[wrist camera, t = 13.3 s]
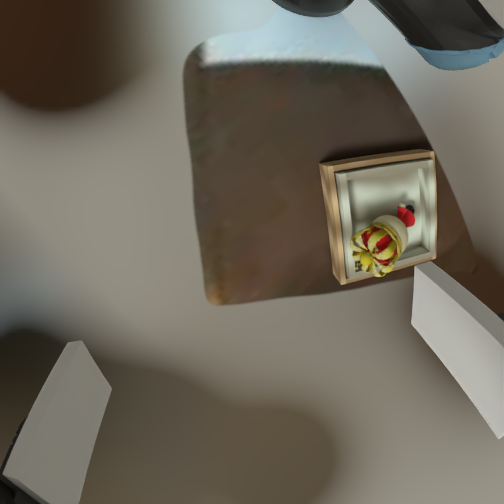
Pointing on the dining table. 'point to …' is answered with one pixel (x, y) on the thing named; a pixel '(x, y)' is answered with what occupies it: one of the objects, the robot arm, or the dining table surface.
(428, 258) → the square wooden tray
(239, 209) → the dining table surface
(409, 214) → the toy
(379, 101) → the dining table surface
